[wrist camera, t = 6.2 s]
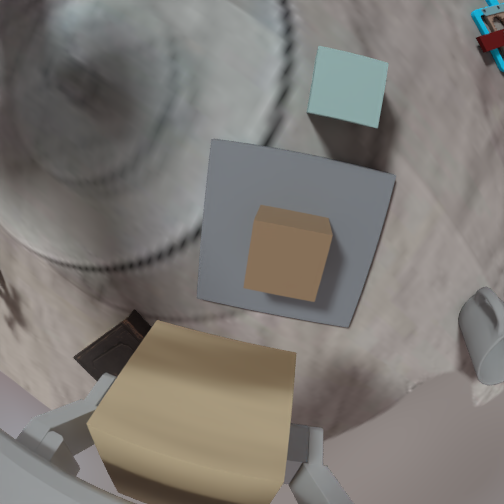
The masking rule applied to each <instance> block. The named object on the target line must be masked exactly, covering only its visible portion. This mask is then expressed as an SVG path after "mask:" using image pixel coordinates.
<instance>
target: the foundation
mask: <svg viewBox="0 0 504 504" xmlns="http://www.w3.org/2000/svg"><path fill="white" fill-rule="evenodd" d="M395 178H396V176H395V175H394V174H390V173H387V172H383V171H379V170H375V169H371V168H367V167H363V166H359V165H355V164H351V163H347V162H342V161H338V160H333V159H329V158H324V157H319V156H315V155H310V154H305V153H300V152H294V151H289V150H283V149H278V148H272V147H266V146H260V145H254V144H247V143H241V142H234V141H226V140H219V139H212V140H211V148H210V156H209V165H208V174H207V183H206V192H205V202H204V213H203V223H202V235H201V246H200V259H199V272H198V287H197V298H198V299H203V300H207V301H212V302H216V303H221V304H226V305H230V306H235V307H240V308H245V309H249V310H254V311H259V312H264V313H269V314H274V315H280V316H285V317H290V318H296V319H301V320H307V321H312V322H318V323H324V324H329V325H335V326H341V327H348V326H349V324H350V321H351V319H352V316H353V313H354V311H355V308H356V305H357V303H358V300H359V297H360V294H361V291H362V289H363V286H364V283H365V280H366V277H367V274H368V271H369V268H370V265H371V262H372V259H373V256H374V253H375V250H376V246H377V243H378V240H379V237H380V233H381V230H382V226H383V223H384V219H385V216H386V212H387V209H388V205H389V201H390V198H391V194H392V190H393V186H394V182H395Z"/></svg>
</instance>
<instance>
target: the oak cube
mask: <svg viewBox="0 0 504 504" xmlns="http://www.w3.org/2000/svg"><path fill="white" fill-rule="evenodd" d="M295 364H296V353H295V352H290V351H285V350H280V349H275V348H270V347H265V346H260V345H256V344H251V343H246V342H242V341H237V340H233V339H229V338H225V337H220V336H216V335H212V334H208V333H204V332H200V331H196V330H192V329H188V328H185V327H181V326H177V325H173V324H170V323H166V322H163V321H159V320H157V321H156V322H155V324H154V325H153V326H152V328H151V329H150V331H149V332H148V333H147V335H146V336H145V338H144V339H143V341H142V342H141V343H140V345H139V346H138V348H137V349H136V351H135V352H134V354H133V355H132V356H131V358H130V359H129V361H128V362H127V364H126V365H125V367H124V368H123V370H122V371H121V372H120V374H119V375H118V377H117V378H116V380H115V381H114V383H113V384H112V386H111V387H110V389H109V390H108V392H107V393H106V395H105V396H104V398H103V399H102V401H101V402H100V404H99V405H98V407H97V408H96V410H95V411H94V413H93V414H92V416H91V417H90V419H89V420H88V422H87V423H86V424H87V426H88V429H89V431H90V434H91V436H92V438H93V441H94V443H95V445H96V447H97V450H98V452H99V455H100V457H101V459H102V461H103V463H104V465H105V467H106V469H107V472H108V474H109V475H110V478H111V479H112V482H113V483H114V485H115V487H116V489H117V491H118V492H119V493H121V494H123V495H126V496H129V497H131V498H133V499H136V500H139V501H141V502H144V503H147V504H270V503H271V501H272V500H273V498H274V497H275V495H276V494H277V492H278V491H279V489H280V487H281V486H282V484H283V483H284V478H285V469H286V461H287V452H288V442H289V433H290V423H291V412H292V401H293V389H294V377H295Z"/></svg>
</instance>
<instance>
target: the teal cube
mask: <svg viewBox="0 0 504 504" xmlns="http://www.w3.org/2000/svg"><path fill="white" fill-rule="evenodd" d="M387 70H388V63H386V62H383V61H380V60H376V59H373V58H369V57H365V56H361V55H357V54H353V53H349V52H345V51H341V50H336V49H332V48H327V47H322V46H319V47H318V51H317V55H316V59H315V65H314V71H313V77H312V84H311V90H310V96H309V102H308V108H307V113H309V114H314V115H319V116H324V117H329V118H333V119H338V120H342V121H346V122H350V123H355V124H359V125H363V126H368V127H373V128H378V124H379V118H380V113H381V107H382V102H383V96H384V90H385V83H386V77H387Z"/></svg>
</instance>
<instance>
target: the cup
mask: <svg viewBox="0 0 504 504" xmlns="http://www.w3.org/2000/svg"><path fill="white" fill-rule="evenodd" d="M459 325H460V328H461V331H462V334H463V337H464V340H465V343H466V346H467V349H468V352H469V354H470V357H471V360H472V363H473V366H474V369H475V372H476V375H477V378H478V380H479V381H480V382H481V383H482V384H485V385H496V384H499V383H502V382H504V302H503V301H502V300H501V299H499V298H498V297H497V295H496V294H495V293H494V292H493V291H492V290H491V289H490V288H488V287H483V288H481V289H479V290H478V291H477V292H476V294H475V295H474V296H473V297H471V298H470V299H469V300H468V301H467V302H466V303H465V305H464V306H463V307H462V309H461V312H460V315H459Z"/></svg>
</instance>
